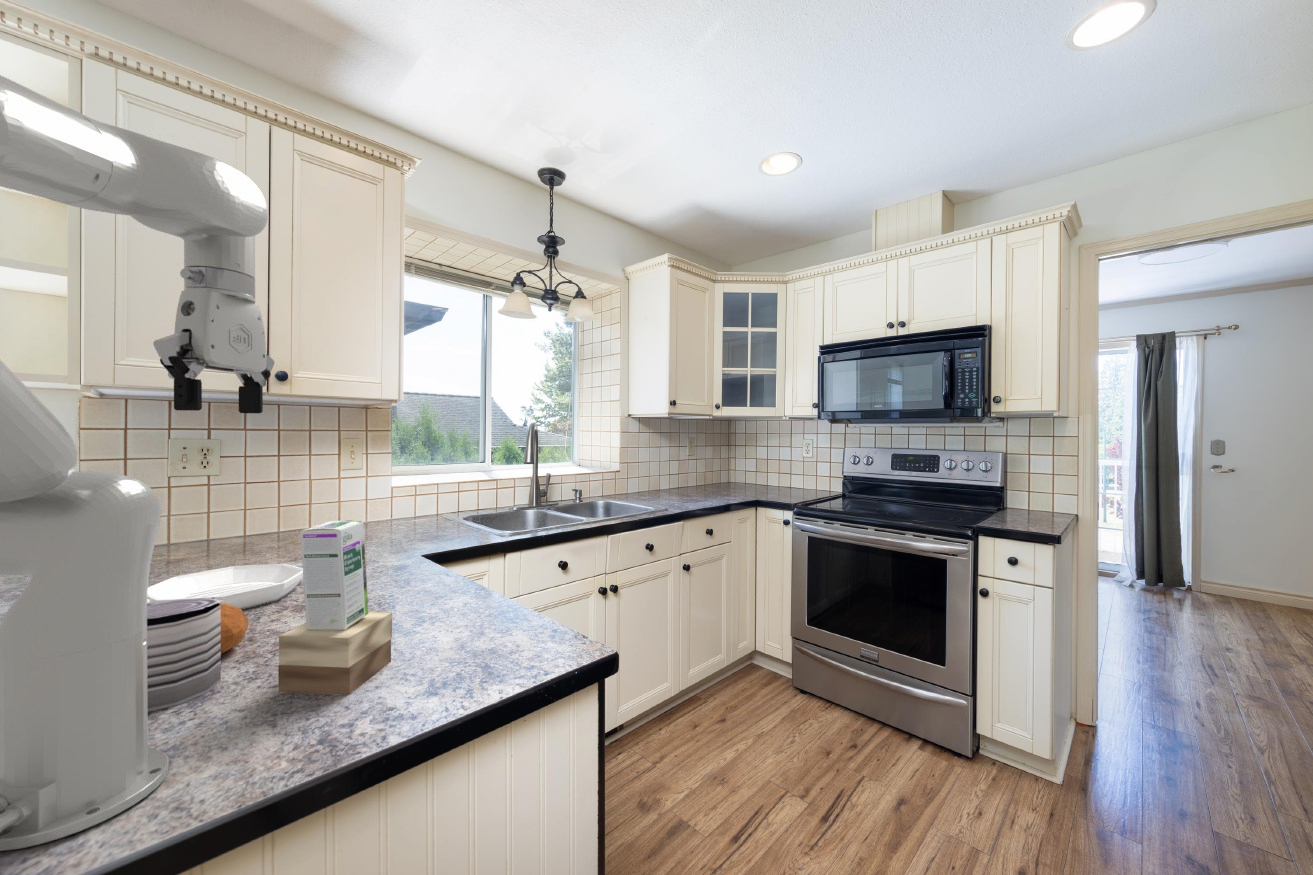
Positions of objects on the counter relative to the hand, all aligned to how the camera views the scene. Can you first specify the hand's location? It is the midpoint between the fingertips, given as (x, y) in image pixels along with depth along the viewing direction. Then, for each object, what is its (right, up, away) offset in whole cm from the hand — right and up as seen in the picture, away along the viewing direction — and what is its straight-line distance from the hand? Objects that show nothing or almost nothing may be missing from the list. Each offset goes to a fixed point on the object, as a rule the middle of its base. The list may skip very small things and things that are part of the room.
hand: (221, 411), depth 71 cm
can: (-6, -39, -1) cm, 39 cm away
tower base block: (+14, -39, +3) cm, 41 cm away
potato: (-11, -38, +11) cm, 41 cm away
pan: (-31, -38, +38) cm, 62 cm away
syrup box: (+14, -31, +3) cm, 34 cm away
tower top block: (+14, -35, +3) cm, 38 cm away
